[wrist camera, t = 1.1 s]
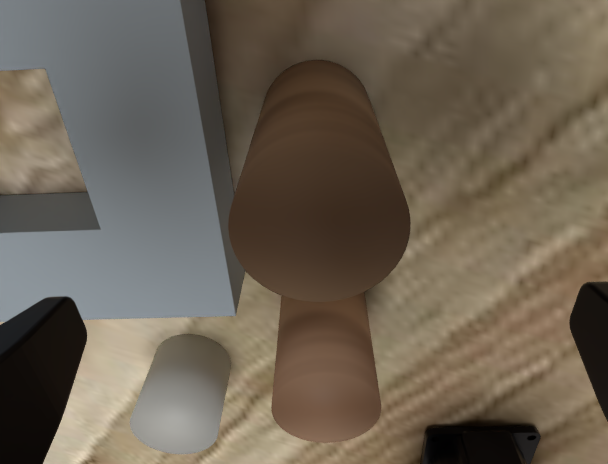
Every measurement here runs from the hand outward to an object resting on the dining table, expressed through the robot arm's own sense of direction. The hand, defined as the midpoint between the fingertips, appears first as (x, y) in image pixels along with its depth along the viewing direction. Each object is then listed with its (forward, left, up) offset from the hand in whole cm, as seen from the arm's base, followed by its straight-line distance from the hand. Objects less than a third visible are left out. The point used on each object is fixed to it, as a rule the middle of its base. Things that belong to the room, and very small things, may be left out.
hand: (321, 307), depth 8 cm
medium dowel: (-9, 0, -10) cm, 14 cm away
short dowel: (-13, +7, -10) cm, 18 cm away
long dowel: (0, 0, -10) cm, 10 cm away
